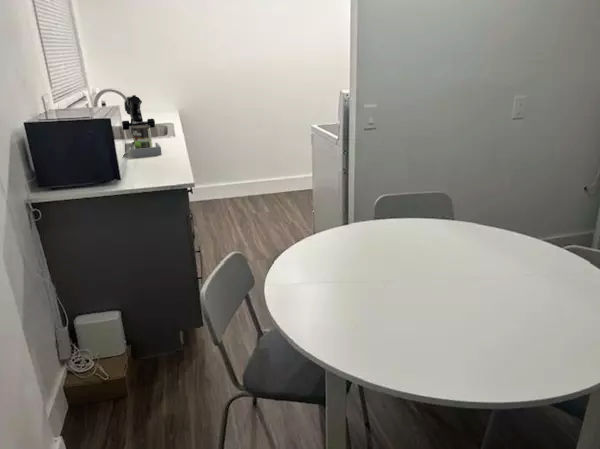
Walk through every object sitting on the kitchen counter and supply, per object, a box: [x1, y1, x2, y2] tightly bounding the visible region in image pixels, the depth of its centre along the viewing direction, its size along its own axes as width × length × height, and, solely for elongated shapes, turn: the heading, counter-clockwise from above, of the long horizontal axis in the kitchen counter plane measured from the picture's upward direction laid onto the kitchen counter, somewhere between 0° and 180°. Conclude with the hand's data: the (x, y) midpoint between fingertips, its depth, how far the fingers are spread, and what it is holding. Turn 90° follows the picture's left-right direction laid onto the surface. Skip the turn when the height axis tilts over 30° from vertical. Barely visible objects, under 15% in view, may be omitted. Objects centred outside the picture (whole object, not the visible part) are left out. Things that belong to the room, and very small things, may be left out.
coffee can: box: [132, 125, 154, 149], centre depth 275 cm, size 10×10×14 cm
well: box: [130, 142, 163, 158], centre depth 267 cm, size 13×15×4 cm
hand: (141, 135), depth 280 cm, fingers closed
